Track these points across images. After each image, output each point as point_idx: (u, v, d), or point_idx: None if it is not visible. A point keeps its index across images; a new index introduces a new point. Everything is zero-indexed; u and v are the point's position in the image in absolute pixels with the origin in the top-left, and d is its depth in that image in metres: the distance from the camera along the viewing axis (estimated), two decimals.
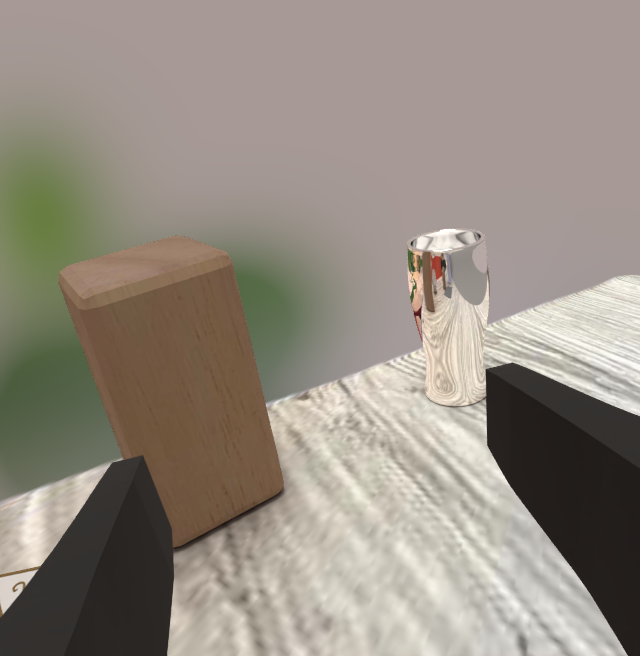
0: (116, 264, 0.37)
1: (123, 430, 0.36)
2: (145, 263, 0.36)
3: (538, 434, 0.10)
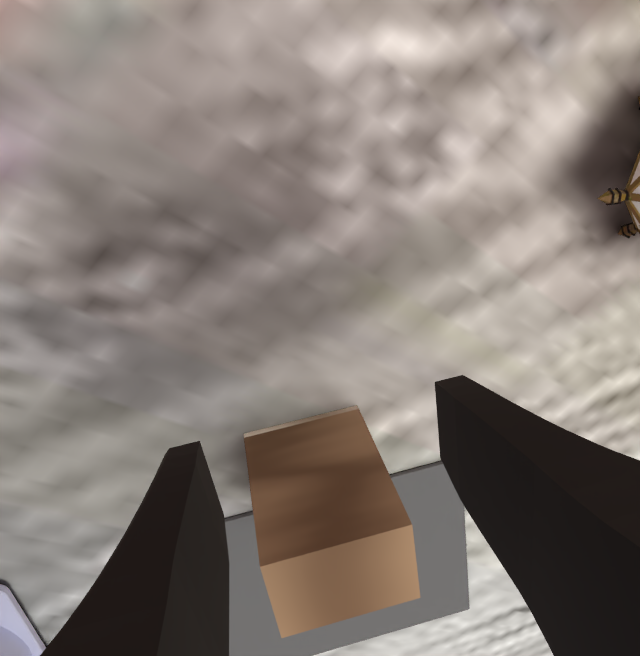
0: None
1: None
2: None
3: (480, 449, 0.10)
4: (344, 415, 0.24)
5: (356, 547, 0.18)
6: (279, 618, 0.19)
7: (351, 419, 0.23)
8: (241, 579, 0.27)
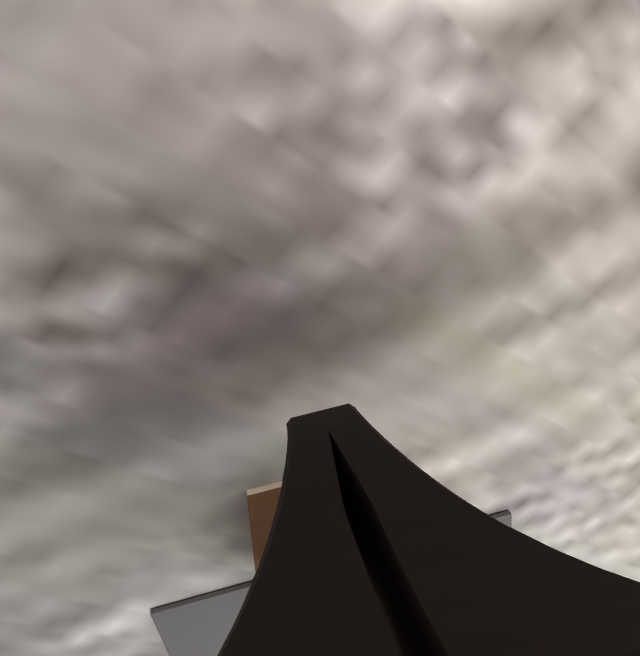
0: None
1: None
2: None
3: (348, 484, 0.09)
4: None
5: None
6: None
7: None
8: None
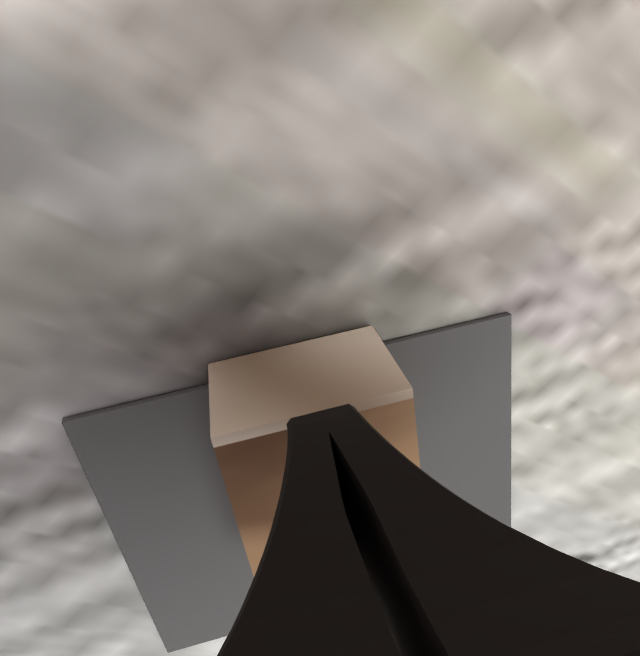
0: None
1: None
2: None
3: (348, 484, 0.09)
4: (388, 411, 0.14)
5: None
6: None
7: (397, 421, 0.14)
8: (184, 496, 0.18)
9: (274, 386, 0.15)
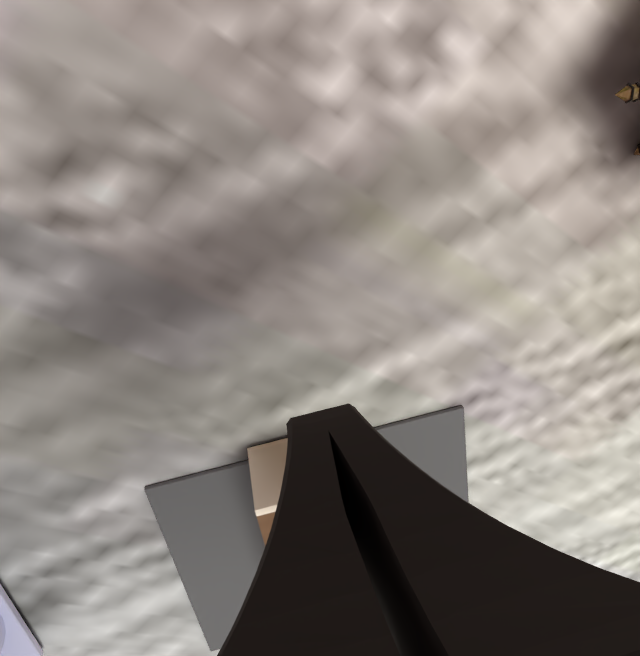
0: None
1: None
2: None
3: (348, 485, 0.09)
4: None
5: None
6: None
7: None
8: (227, 538, 0.25)
9: None
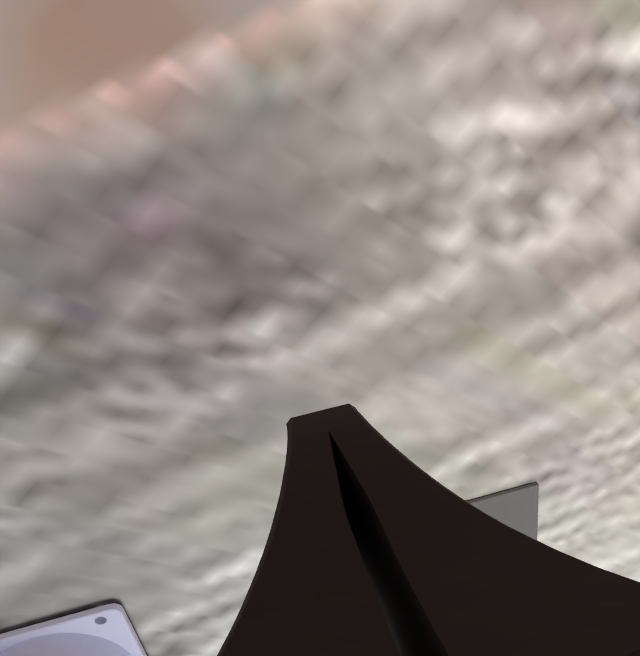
0: None
1: None
2: None
3: (348, 484, 0.09)
4: None
5: None
6: None
7: None
8: None
9: None
